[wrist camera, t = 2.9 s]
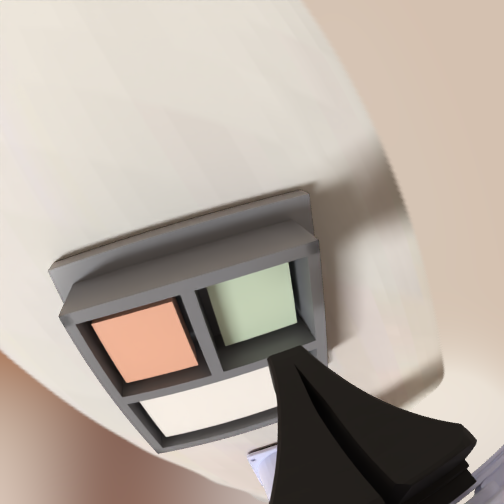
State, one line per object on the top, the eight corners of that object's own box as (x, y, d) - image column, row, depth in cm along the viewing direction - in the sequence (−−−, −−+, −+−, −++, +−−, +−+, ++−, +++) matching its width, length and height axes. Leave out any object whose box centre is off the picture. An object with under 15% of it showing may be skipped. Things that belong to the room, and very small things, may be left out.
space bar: (301, 378, 19) (309, 394, 18) (164, 419, 18) (166, 437, 17) (295, 336, 18) (305, 352, 16) (139, 382, 16) (139, 401, 15)
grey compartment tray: (319, 368, 23) (343, 404, 19) (147, 420, 20) (150, 462, 17) (301, 189, 16) (338, 209, 13) (53, 262, 14) (28, 301, 11)
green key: (287, 307, 18) (297, 322, 16) (220, 329, 17) (225, 346, 16) (276, 245, 16) (287, 257, 15) (200, 268, 15) (204, 282, 14)
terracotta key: (194, 346, 16) (198, 364, 15) (127, 364, 16) (126, 383, 14) (170, 284, 14) (172, 301, 13) (96, 306, 14) (91, 324, 12)
